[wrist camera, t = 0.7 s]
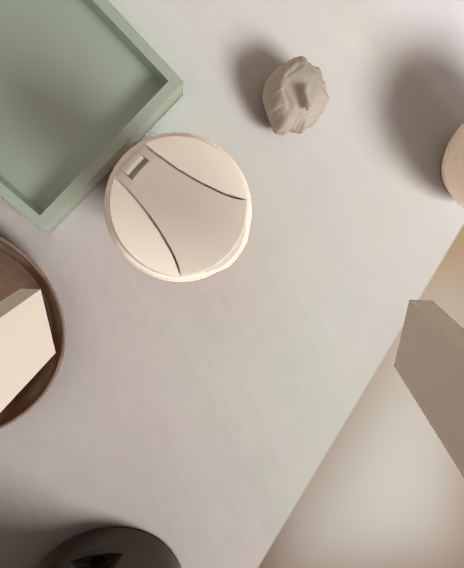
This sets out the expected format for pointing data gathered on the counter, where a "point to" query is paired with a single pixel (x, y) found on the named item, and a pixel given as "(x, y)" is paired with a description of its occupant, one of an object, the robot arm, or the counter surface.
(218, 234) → the paper cup
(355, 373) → the counter surface
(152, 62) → the tray
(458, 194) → the lidded jar
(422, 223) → the counter surface
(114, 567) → the robot arm
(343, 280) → the counter surface
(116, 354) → the counter surface
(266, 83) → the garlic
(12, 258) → the plant saucer
